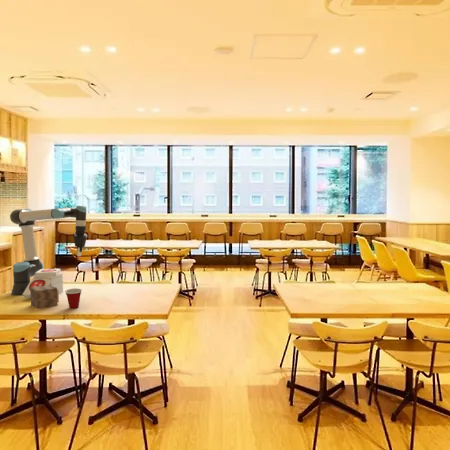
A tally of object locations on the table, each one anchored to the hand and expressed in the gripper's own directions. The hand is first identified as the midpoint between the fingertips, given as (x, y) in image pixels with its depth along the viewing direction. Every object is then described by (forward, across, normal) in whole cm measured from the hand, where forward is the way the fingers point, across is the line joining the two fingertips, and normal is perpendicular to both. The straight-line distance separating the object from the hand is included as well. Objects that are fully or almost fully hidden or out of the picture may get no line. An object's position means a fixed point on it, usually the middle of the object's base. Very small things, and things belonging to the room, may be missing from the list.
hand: (79, 255), depth 343 cm
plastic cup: (+29, -31, +38) cm, 57 cm away
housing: (+30, -7, +41) cm, 51 cm away
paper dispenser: (+30, +15, +19) cm, 39 cm away
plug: (+29, -8, +39) cm, 49 cm away
